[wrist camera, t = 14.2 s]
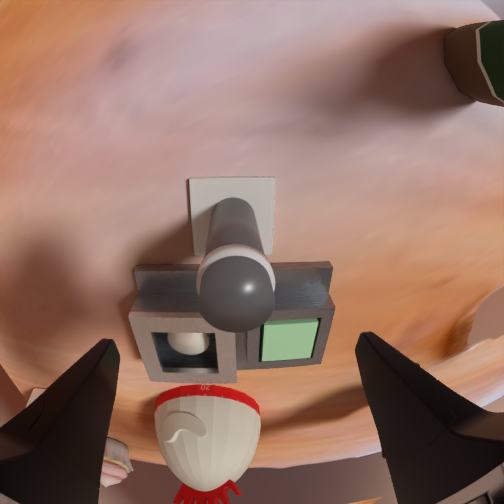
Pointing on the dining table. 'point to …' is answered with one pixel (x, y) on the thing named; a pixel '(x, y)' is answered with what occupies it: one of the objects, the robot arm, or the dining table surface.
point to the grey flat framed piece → (220, 342)
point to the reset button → (189, 342)
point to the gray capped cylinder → (235, 271)
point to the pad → (218, 188)
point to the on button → (287, 339)
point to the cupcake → (115, 462)
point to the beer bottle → (478, 60)
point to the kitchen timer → (207, 439)
